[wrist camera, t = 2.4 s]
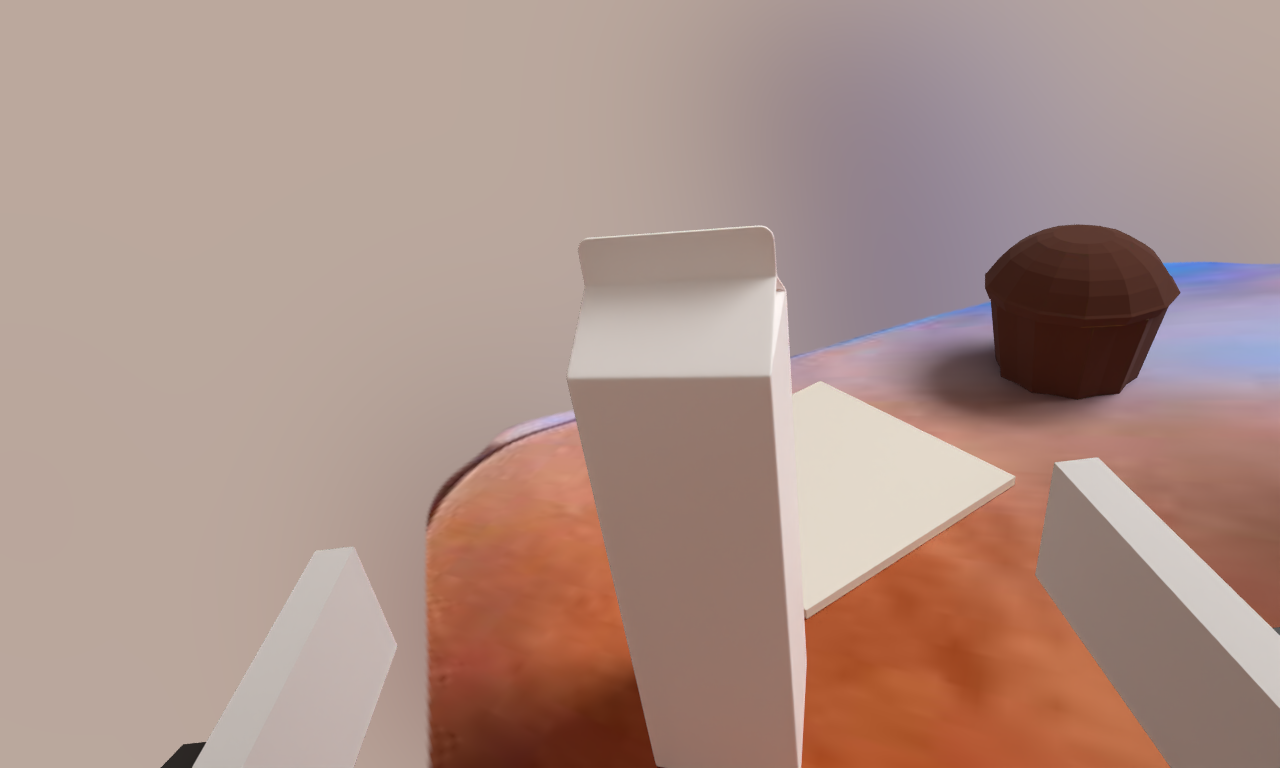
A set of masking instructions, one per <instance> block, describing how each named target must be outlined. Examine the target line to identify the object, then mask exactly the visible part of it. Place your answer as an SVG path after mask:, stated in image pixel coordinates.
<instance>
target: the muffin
mask: <svg viewBox="0 0 1280 768" xmlns="http://www.w3.org/2000/svg"><path fill="white" fill-rule="evenodd" d="M985 289H986V291H987V294H988V296H989V298H990V299H991V308H992V320H993V332H994V344H995V356H996V360H997V362H998V364H999V366H1000V370H1001V377H1003V378H1006V379H1008V380H1010V381H1012V382H1015V383H1017V384H1019V385H1020V386H1022V387H1023V388H1025V389H1027V390H1028V391H1030V392H1032V393H1040V394H1049V395H1057V396H1062V397H1067V398H1072V399H1077V400H1078V399H1083V398H1087V397H1092V396H1098V395H1108V394H1119V393H1120V392H1121V390H1122V389H1123V388H1124V387H1125V385H1126V384H1128V383H1129V382H1131V381H1132V380H1134V379H1135V378H1137V376H1138V374H1139V372H1140V370H1141V367H1142V365H1143V363H1144V360H1145V358H1146V356H1147V354H1148V351H1149V349H1150V347H1151V345H1152V342H1153V340H1154V338H1155V336H1156V333H1157V331H1158V329H1159V327H1160V324H1161V322H1162V320H1163V318H1164V315H1165V313H1166V311H1167V309H1168V306H1169V305H1170V304H1171V303H1172V302H1173V301H1174V300H1175V298H1176V297H1177V296H1178V295H1179V294H1180V291H1179V289H1178V287H1177V285H1176V283H1175V281H1174V280H1173V278H1172V276H1170V274H1169V273H1168V271H1167V270H1166V268H1165V266H1164V265H1163V263H1162V262H1161V260H1160V259H1159V257H1158V256H1157V255H1156V253H1155V252H1154V251H1153V250H1152V249H1151V248H1149V247H1148V246H1146V245H1145V244H1143V243H1142V242H1140V241H1138V240H1137V239H1135V238H1133V237H1131V236H1129V235H1127V234H1125V233H1123V232H1121V231H1118V230H1116V229H1111V228H1106V227H1101V226H1093V225H1065V226H1057V227H1053V228H1049V229H1045V230H1042V231H1040V232H1037V233H1035V234H1032V235H1030V236H1028V237H1026V238H1024V239H1022V240H1021V241H1019V242H1018V243H1017V244H1015V245H1014V246H1013V247H1011V248H1010V249H1009V250H1008V251H1007V252H1006V253H1005V254H1003V255H1002V256H1001V257H1000V258H999V259H998V260H997V262H996V263H995V264H994V265H993V266H992V268H991V269H990V270H989V271H988V272H987V273H986V274H985Z"/></svg>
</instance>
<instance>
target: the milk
mask: <svg viewBox="0 0 1280 768" xmlns="http://www.w3.org/2000/svg"><path fill="white" fill-rule="evenodd" d="M578 253H579V259H580V264H581V269H582V274H583V278H584V284H585V289H584V293H583V298H582V303H581V308H580V313H579V317H578V322H577V327H576V332H575V337H574V342H573V347H572V351H571V356H570V361H569V366H568V371H567V382H568V387H569V391H570V396H571V400H572V404H573V409H574V413H575V417H576V422H577V426H578V430H579V435H580V439H581V443H582V448H583V452H584V456H585V461H586V465H587V469H588V474H589V478H590V482H591V487H592V491H593V495H594V500H595V504H596V508H597V513H598V517H599V521H600V526H601V530H602V534H603V539H604V543H605V547H606V552H607V556H608V560H609V565H610V569H611V573H612V578H613V582H614V586H615V591H616V595H617V599H618V604H619V608H620V612H621V617H622V621H623V625H624V630H625V634H626V638H627V643H628V647H629V651H630V656H631V660H632V664H633V669H634V673H635V677H636V682H637V686H638V690H639V695H640V699H641V703H642V708H643V712H644V716H645V721H646V725H647V729H648V734H649V738H650V742H651V747H652V751H653V755H654V760H655V763H656V766H658V767H664V768H801V760H802V741H803V722H804V704H805V685H806V666H807V661H806V642H805V624H804V606H803V587H802V569H801V551H800V532H799V514H798V496H797V478H796V459H795V441H794V423H793V404H792V386H791V368H790V351H789V332H788V313H787V295H786V289H785V287H784V286H783V284H782V283H781V281H780V279H779V278H778V276H777V271H776V270H777V269H776V254H775V240H774V235H773V233H772V232H771V230H770V229H769V228H767V227H765V226H747V227H735V228H734V227H733V228H720V229H708V230H692V231H678V232H665V233H650V234H636V235H624V236H609V237H595V238H586V239H584V240H583V241H582V242H581V243H580V245H579V248H578Z"/></svg>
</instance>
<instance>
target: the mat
mask: <svg viewBox="0 0 1280 768" xmlns="http://www.w3.org/2000/svg"><path fill="white" fill-rule="evenodd" d="M792 404H793V423H794V441H795V459H796V478H797V496H798V514H799V532H800V551H801V569H802V587H803V606H804V617H805V618H806V619H808V618H809V617H811V616H812V615H814V614H815V613H817V612H818V611H820V610H821V609H823V608H825V607H826V606H828V605H829V604H831V603H832V602H834V601H835V600H837V599H838V598H840V597H842V596H843V595H845V594H846V593H848V592H849V591H851V590H852V589H854V588H856V587H857V586H859V585H860V584H862V583H863V582H865V581H866V580H868V579H869V578H871V577H873V576H874V575H876V574H877V573H879V572H880V571H882V570H883V569H885V568H886V567H888V566H890V565H891V564H893V563H894V562H896V561H897V560H899V559H900V558H902V557H904V556H905V555H907V554H908V553H910V552H911V551H913V550H914V549H916V548H917V547H919V546H921V545H922V544H924V543H925V542H927V541H928V540H930V539H931V538H933V537H934V536H936V535H938V534H939V533H941V532H942V531H944V530H945V529H947V528H948V527H950V526H952V525H953V524H955V523H956V522H958V521H959V520H961V519H962V518H964V517H965V516H967V515H969V514H970V513H972V512H973V511H975V510H976V509H978V508H979V507H981V506H983V505H984V504H986V503H987V502H989V501H990V500H992V499H993V498H995V497H996V496H998V495H1000V494H1001V493H1003V492H1004V491H1006V490H1007V489H1009V488H1010V487H1012V486H1013V485H1015V476H1013V475H1011V474H1009V473H1007V472H1005V471H1003V470H1001V469H999V468H997V467H995V466H993V465H991V464H989V463H987V462H985V461H983V460H981V459H979V458H977V457H975V456H973V455H970V454H968V453H966V452H964V451H962V450H960V449H958V448H956V447H954V446H952V445H950V444H948V443H946V442H944V441H942V440H940V439H938V438H936V437H934V436H932V435H930V434H928V433H926V432H924V431H922V430H920V429H917V428H915V427H913V426H911V425H909V424H907V423H905V422H903V421H901V420H899V419H897V418H895V417H893V416H891V415H889V414H887V413H885V412H883V411H881V410H879V409H877V408H875V407H873V406H871V405H869V404H866V403H864V402H862V401H860V400H858V399H856V398H854V397H852V396H850V395H848V394H846V393H844V392H842V391H840V390H838V389H836V388H834V387H832V386H830V385H828V384H826V383H824V382H822V381H819V382H817V383H815V384H813V385H811V386H809V387H807V388H805V389H803V390H800V391H798V392H796V393H794V394H792Z"/></svg>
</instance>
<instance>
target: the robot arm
mask: <svg viewBox="0 0 1280 768" xmlns="http://www.w3.org/2000/svg"><path fill="white" fill-rule="evenodd" d="M1035 575H1036V577H1037V578H1038V580H1039V581H1040V583H1041V584H1042V585H1043V587H1044V588H1045V590H1046V591H1047V593H1048V594H1049V595H1050V597H1051V598H1052V600H1053V601H1054V602H1055V604H1056V605H1057V607H1058V608H1059V610H1060V611H1061V612H1062V614H1063V615H1064V617H1065V618H1066V619H1067V621H1068V622H1069V624H1070V625H1071V627H1072V628H1073V629H1074V631H1075V632H1076V634H1077V635H1078V637H1079V638H1080V639H1081V641H1082V642H1083V644H1084V645H1085V646H1086V648H1087V649H1088V651H1089V652H1090V654H1091V655H1092V656H1093V658H1094V659H1095V661H1096V662H1097V664H1098V665H1099V666H1100V668H1101V669H1102V671H1103V672H1104V673H1105V675H1106V676H1107V678H1108V679H1109V681H1110V682H1111V683H1112V685H1113V686H1114V688H1115V689H1116V691H1117V692H1118V693H1119V695H1120V696H1121V698H1122V699H1123V700H1124V702H1125V703H1126V705H1127V706H1128V708H1129V709H1130V710H1131V712H1132V713H1133V715H1134V716H1135V718H1136V719H1137V720H1138V722H1139V723H1140V725H1141V726H1142V727H1143V729H1144V730H1145V732H1146V733H1147V735H1148V736H1149V737H1150V739H1151V740H1152V742H1153V743H1154V744H1155V746H1156V747H1157V749H1158V750H1159V752H1160V753H1161V754H1162V756H1163V757H1164V759H1165V760H1166V762H1167V763H1168V764H1169V766H1170V767H1171V768H1280V627H1278V628H1272V627H1271V626H1270V625H1269V624H1268V623H1266V622H1265V621H1264V620H1263V619H1262V618H1261V617H1260V616H1259V615H1258V614H1257V613H1256V612H1255V611H1254V610H1253V609H1252V608H1251V607H1250V606H1249V605H1248V604H1247V603H1246V602H1245V601H1244V600H1243V599H1242V598H1241V597H1240V596H1239V595H1238V594H1237V593H1236V592H1235V591H1234V590H1233V589H1232V588H1231V587H1230V586H1229V585H1228V584H1227V583H1226V582H1225V581H1224V580H1223V579H1222V578H1221V577H1219V576H1218V575H1217V574H1216V573H1215V572H1214V571H1213V570H1212V569H1211V568H1210V567H1209V566H1208V565H1207V564H1206V563H1205V562H1204V561H1203V560H1202V559H1201V558H1200V557H1199V556H1198V555H1197V554H1196V553H1195V552H1194V551H1193V550H1192V549H1191V548H1190V547H1189V546H1188V545H1187V544H1186V543H1185V542H1184V541H1183V540H1182V539H1181V538H1180V537H1179V536H1178V535H1177V534H1176V533H1175V532H1174V531H1173V530H1171V529H1170V528H1169V527H1168V526H1167V525H1166V524H1165V523H1164V522H1163V521H1162V520H1161V519H1160V518H1159V517H1158V516H1157V515H1156V514H1155V513H1154V512H1153V511H1152V510H1151V509H1150V508H1149V507H1148V506H1147V505H1146V504H1145V503H1144V502H1143V501H1142V500H1141V499H1140V498H1139V497H1138V496H1137V495H1136V494H1135V493H1134V492H1133V491H1132V490H1131V489H1130V488H1129V487H1128V486H1127V485H1126V484H1125V483H1123V482H1122V481H1121V480H1120V479H1119V478H1118V477H1117V476H1116V475H1115V474H1114V473H1113V472H1112V471H1111V470H1110V469H1109V468H1108V467H1107V466H1106V465H1105V464H1104V463H1103V462H1102V461H1101V460H1100V459H1099V458H1098V457H1097V458H1088V459H1080V460H1072V461H1063V462H1055V463H1054V468H1053V474H1052V480H1051V486H1050V492H1049V498H1048V503H1047V509H1046V515H1045V521H1044V527H1043V533H1042V539H1041V545H1040V550H1039V556H1038V562H1037V568H1036V574H1035ZM396 648H397V644H396V642H395V639H394V637H393V635H392V633H391V630H390V628H389V626H388V623H387V621H386V619H385V616H384V614H383V612H382V610H381V607H380V605H379V603H378V601H377V598H376V596H375V594H374V591H373V589H372V587H371V584H370V582H369V580H368V578H367V575H366V573H365V571H364V568H363V566H362V564H361V562H360V559H359V557H358V555H357V552H356V550H355V548H354V547H345V548H337V549H328V550H320V551H315V553H314V554H313V556H312V558H311V560H310V561H309V563H308V565H307V567H306V568H305V570H304V572H303V574H302V576H301V577H300V579H299V581H298V583H297V584H296V586H295V588H294V589H293V591H292V593H291V595H290V597H289V598H288V600H287V602H286V603H285V606H284V607H283V609H282V611H281V612H280V614H279V616H278V618H277V619H276V621H275V623H274V625H273V626H272V628H271V630H270V632H269V634H268V635H267V637H266V639H265V640H264V642H263V644H262V646H261V648H260V649H259V651H258V653H257V654H256V657H255V658H254V660H253V661H252V664H251V665H250V667H249V668H248V670H247V672H246V674H245V676H244V677H243V679H242V681H241V683H240V684H239V686H238V688H237V690H236V691H235V693H234V695H233V697H232V698H231V700H230V702H229V704H228V705H227V707H226V709H225V711H224V712H223V714H222V716H221V718H220V719H219V721H218V723H217V725H216V726H215V728H214V730H213V732H212V733H211V735H210V737H209V739H208V740H207V742H202V743H192V744H183V746H181V747H180V748H179V749H178V750H177V751H176V753H175V754H174V755H173V756H172V757H171V758H170V759H169V760H168V761H167V762H166V763H165V764H164V765H163V766H162V767H161V768H354V766H355V763H356V760H357V757H358V755H359V752H360V749H361V746H362V743H363V740H364V738H365V735H366V732H367V730H368V727H369V724H370V721H371V718H372V715H373V713H374V710H375V707H376V704H377V702H378V699H379V696H380V693H381V691H382V688H383V685H384V682H385V679H386V677H387V674H388V671H389V668H390V665H391V662H392V660H393V657H394V654H395V652H396Z"/></svg>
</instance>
